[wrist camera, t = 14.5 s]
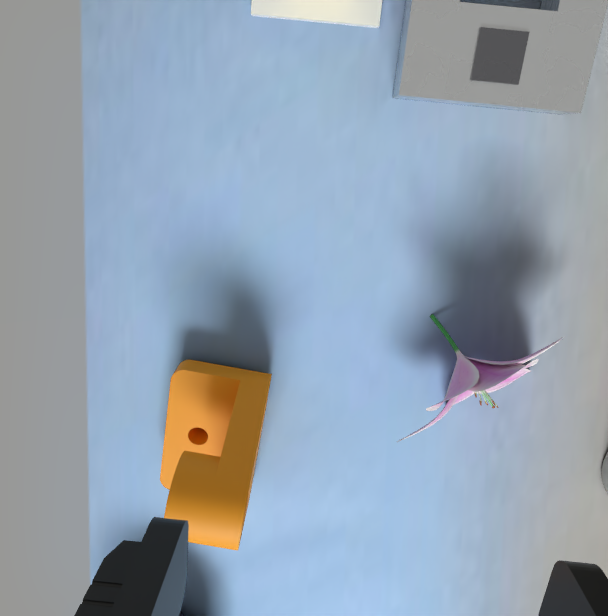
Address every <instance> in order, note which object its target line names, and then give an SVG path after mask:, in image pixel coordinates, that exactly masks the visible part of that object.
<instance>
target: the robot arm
mask: <svg viewBox="0 0 608 616" xmlns="http://www.w3.org/2000/svg"><path fill="white" fill-rule="evenodd" d="M602 482H603V485H604V488H605V490H606V492H607V493H608V452H607V454H606V457H605V459H604V461H603V466H602ZM188 531H189V525H188V521H187V520H178V519H168V518H158V517H154V518H153V519H152V520H151V522H150V524H149V526H148V529H147V531H146V533H145V535H144V537H143V540H142V542H135V541H125V540H124V541H123V542H121V543H120V544H119V545H118V546H117V547H116V548H115V549H114V550H113V551H112V552H111V553H109V554H108V555H107V556H106V557H105V558H104V560H103V562H102V564H101V566H100V567H99V569H98V571H97V573H96V575H95V577H94V579H93V582H92V585H90V587H89V589H88V591H87V593H86V594H85V596H84V598H83V602H82V604H80V606H79V608H78V610H77V612H76V614H75V616H179V614H180V611H181V607H182V604H183V599H184V594H185V589H186V582H187V565H188ZM539 616H608V579H607V577H606V576H605V574H604V572H603V571H602V570H601V568H600V567H599V566H597V565H595V564H589V563H579V562H569V561H557V562H556V563H555V565H554V567H553V570H552V573H551V576H550V580H549V583H548V586H547V589H546V592H545V595H544V598H543V602H542V605H541V608H540V611H539Z"/></svg>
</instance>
